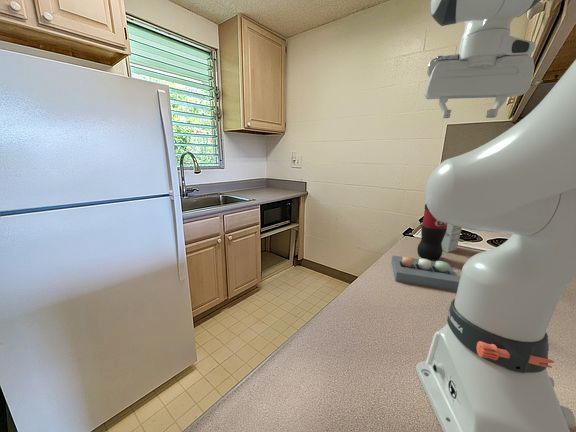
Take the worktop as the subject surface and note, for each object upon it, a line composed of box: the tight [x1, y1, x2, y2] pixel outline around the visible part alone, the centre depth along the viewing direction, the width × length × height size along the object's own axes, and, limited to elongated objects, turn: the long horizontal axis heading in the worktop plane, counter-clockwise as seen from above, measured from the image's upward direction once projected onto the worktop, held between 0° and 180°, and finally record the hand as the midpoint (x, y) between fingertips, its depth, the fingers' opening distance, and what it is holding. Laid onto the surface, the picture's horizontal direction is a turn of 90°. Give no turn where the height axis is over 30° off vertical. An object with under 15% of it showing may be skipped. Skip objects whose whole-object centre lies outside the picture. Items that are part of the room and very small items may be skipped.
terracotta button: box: [401, 255, 415, 267], centre depth 82 cm, size 4×4×2 cm
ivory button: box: [418, 258, 432, 269], centre depth 80 cm, size 4×4×2 cm
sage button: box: [435, 260, 450, 272], centre depth 79 cm, size 4×4×2 cm
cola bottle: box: [417, 203, 447, 261], centre depth 92 cm, size 8×8×30 cm
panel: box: [391, 255, 460, 292], centre depth 81 cm, size 14×18×3 cm
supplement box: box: [442, 224, 462, 253], centre depth 105 cm, size 7×7×13 cm
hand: (467, 117), depth 59 cm, fingers open, 8 cm apart
